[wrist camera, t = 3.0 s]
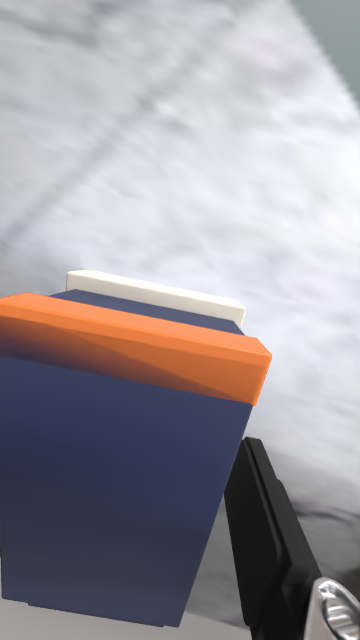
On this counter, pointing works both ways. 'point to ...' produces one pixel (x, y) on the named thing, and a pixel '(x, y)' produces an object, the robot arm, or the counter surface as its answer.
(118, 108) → the counter surface
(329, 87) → the counter surface
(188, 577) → the blue orange block
